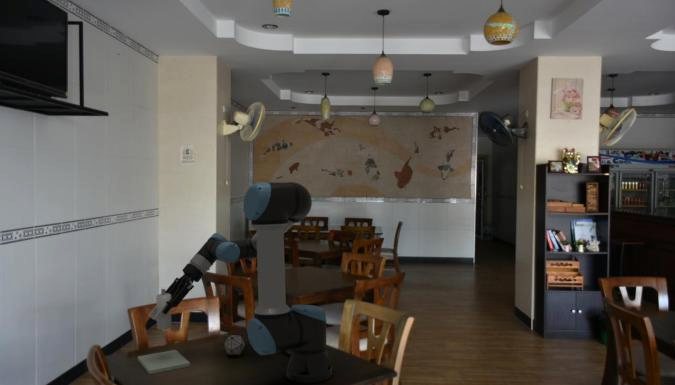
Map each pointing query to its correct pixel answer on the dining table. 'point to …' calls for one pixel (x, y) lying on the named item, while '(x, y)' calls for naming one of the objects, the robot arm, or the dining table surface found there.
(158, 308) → the grey bottle
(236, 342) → the game die
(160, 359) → the sage board
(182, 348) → the dining table surface
